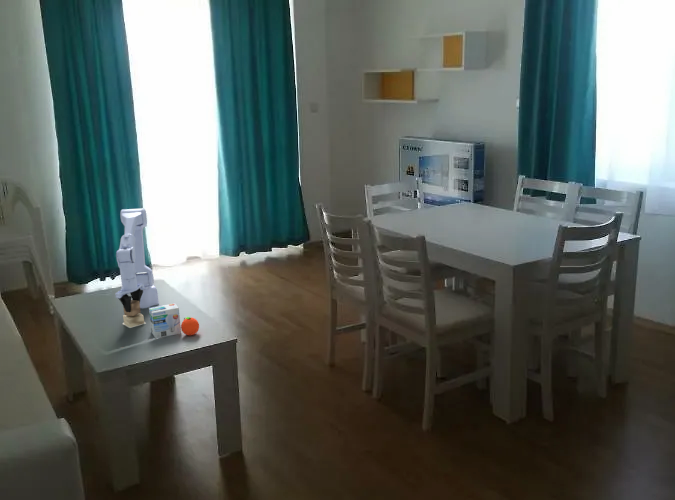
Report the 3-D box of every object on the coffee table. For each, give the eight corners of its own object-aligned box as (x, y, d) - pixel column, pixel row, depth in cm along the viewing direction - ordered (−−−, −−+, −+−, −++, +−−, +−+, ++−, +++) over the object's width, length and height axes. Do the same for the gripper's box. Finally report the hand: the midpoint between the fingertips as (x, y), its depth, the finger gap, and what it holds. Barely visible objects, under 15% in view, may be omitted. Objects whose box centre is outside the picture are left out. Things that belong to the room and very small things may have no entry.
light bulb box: (154, 339, 254) (151, 312, 252) (150, 333, 260) (147, 307, 257) (182, 333, 259) (179, 307, 256) (177, 328, 265) (175, 302, 262)
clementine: (176, 334, 258) (175, 317, 256) (192, 329, 263) (190, 312, 261) (188, 339, 252) (186, 322, 251) (203, 334, 257) (201, 317, 255)
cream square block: (137, 319, 273) (136, 311, 273) (144, 323, 269) (143, 315, 268) (124, 323, 270) (123, 315, 269) (130, 327, 265) (129, 319, 264)
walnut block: (132, 311, 271) (130, 299, 270) (140, 312, 269) (139, 300, 268) (124, 314, 267) (122, 303, 266) (133, 316, 266) (131, 304, 264)
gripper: (133, 271, 272) (136, 303, 276) (107, 281, 260) (112, 314, 263) (146, 273, 270) (150, 304, 273) (121, 283, 257) (125, 316, 260)
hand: (132, 309), depth 268 cm, fingers closed on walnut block, 4 cm apart
